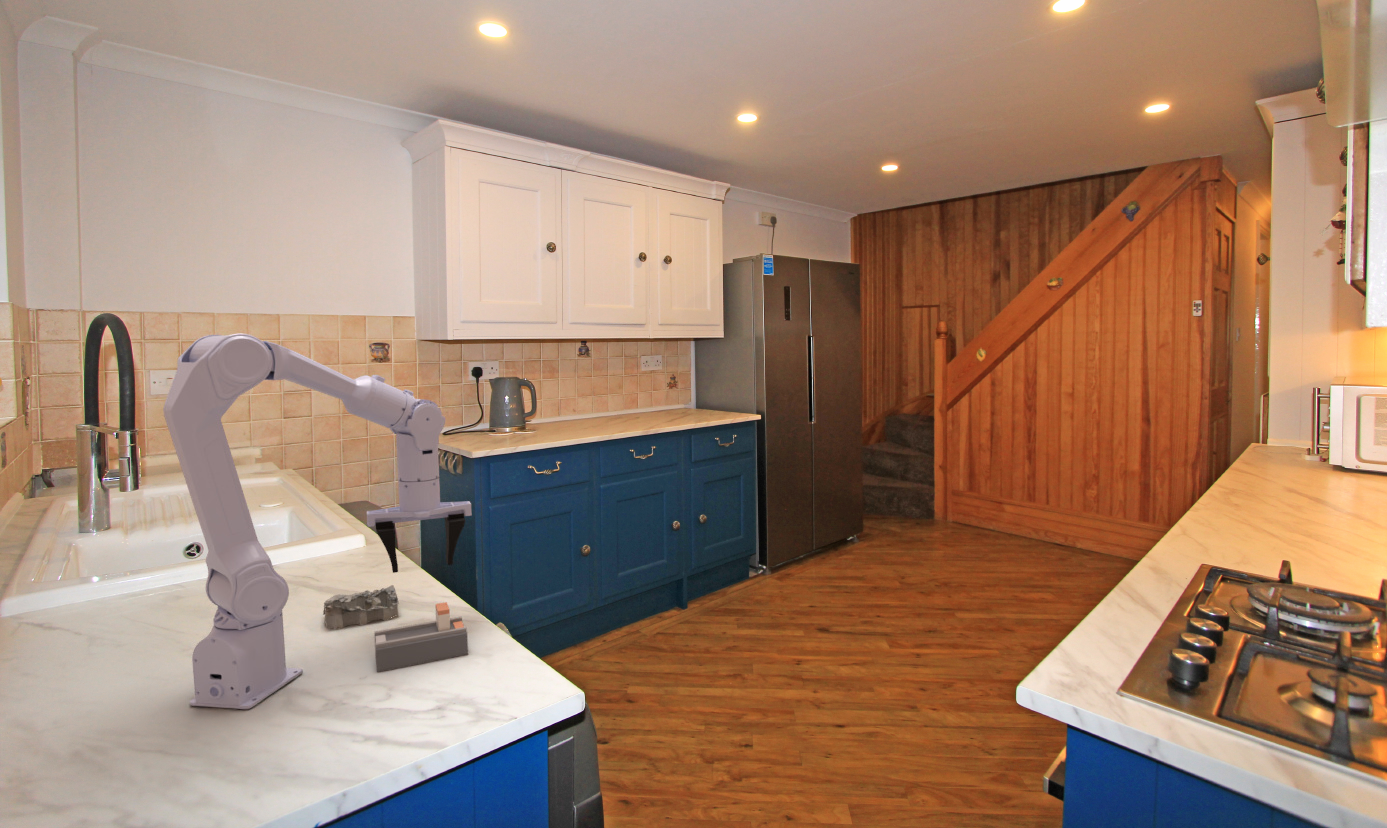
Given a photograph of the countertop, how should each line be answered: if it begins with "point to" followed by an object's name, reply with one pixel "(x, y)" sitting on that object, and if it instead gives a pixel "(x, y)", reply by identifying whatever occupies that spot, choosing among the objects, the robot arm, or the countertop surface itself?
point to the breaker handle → (442, 616)
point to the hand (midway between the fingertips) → (422, 566)
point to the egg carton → (360, 607)
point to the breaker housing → (419, 644)
